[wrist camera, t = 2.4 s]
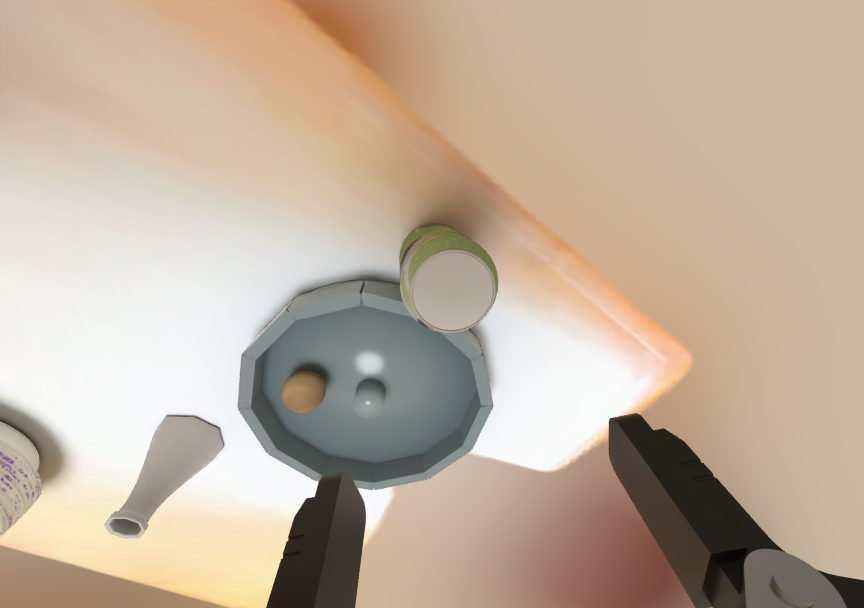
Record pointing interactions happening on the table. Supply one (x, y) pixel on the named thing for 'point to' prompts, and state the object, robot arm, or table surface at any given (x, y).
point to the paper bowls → (17, 476)
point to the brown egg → (303, 391)
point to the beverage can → (446, 279)
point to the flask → (166, 470)
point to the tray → (342, 361)
